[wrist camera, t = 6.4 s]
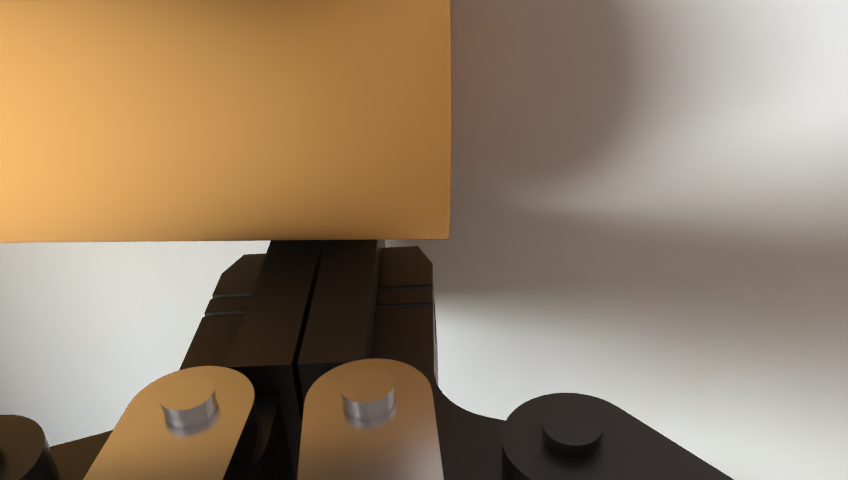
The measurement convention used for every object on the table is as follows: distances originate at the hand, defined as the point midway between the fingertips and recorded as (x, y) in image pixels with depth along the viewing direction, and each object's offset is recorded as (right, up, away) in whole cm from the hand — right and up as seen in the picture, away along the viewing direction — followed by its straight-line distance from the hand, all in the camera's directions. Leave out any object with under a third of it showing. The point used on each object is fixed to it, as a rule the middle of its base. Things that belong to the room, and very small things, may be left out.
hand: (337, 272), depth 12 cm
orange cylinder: (-2, +2, 0) cm, 3 cm away
